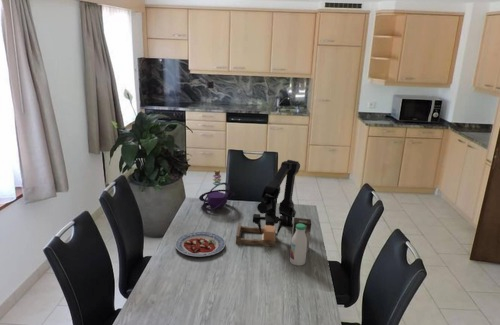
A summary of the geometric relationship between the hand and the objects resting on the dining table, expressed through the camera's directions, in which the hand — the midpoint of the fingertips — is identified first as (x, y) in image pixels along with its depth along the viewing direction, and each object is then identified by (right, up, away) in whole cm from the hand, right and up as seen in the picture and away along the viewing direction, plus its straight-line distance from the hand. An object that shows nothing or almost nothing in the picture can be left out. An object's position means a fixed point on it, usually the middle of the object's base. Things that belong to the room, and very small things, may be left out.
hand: (269, 233), depth 210 cm
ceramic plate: (-36, -5, -11) cm, 38 cm away
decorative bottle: (-32, +10, +39) cm, 52 cm away
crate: (0, -3, +1) cm, 3 cm away
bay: (-7, -3, +1) cm, 7 cm away
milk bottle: (+13, -10, -21) cm, 27 cm away
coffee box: (+16, -7, -7) cm, 19 cm away
